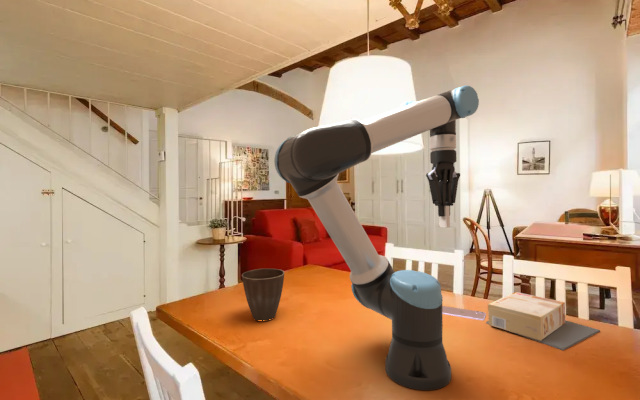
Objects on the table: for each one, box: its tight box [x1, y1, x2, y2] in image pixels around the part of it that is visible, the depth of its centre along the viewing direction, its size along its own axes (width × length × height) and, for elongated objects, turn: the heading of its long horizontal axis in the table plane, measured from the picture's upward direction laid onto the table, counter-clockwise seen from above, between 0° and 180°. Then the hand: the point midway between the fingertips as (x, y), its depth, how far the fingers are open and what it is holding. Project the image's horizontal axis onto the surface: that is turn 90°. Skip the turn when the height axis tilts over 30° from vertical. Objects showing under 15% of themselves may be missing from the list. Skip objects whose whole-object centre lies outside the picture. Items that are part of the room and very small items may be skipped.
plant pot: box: [241, 268, 285, 321], centre depth 116 cm, size 15×15×16 cm
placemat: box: [486, 319, 601, 351], centre depth 103 cm, size 22×22×1 cm
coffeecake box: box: [487, 291, 566, 341], centre depth 104 cm, size 15×7×20 cm
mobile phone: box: [442, 305, 487, 321], centre depth 116 cm, size 8×1×15 cm
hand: (444, 226), depth 101 cm, fingers closed
